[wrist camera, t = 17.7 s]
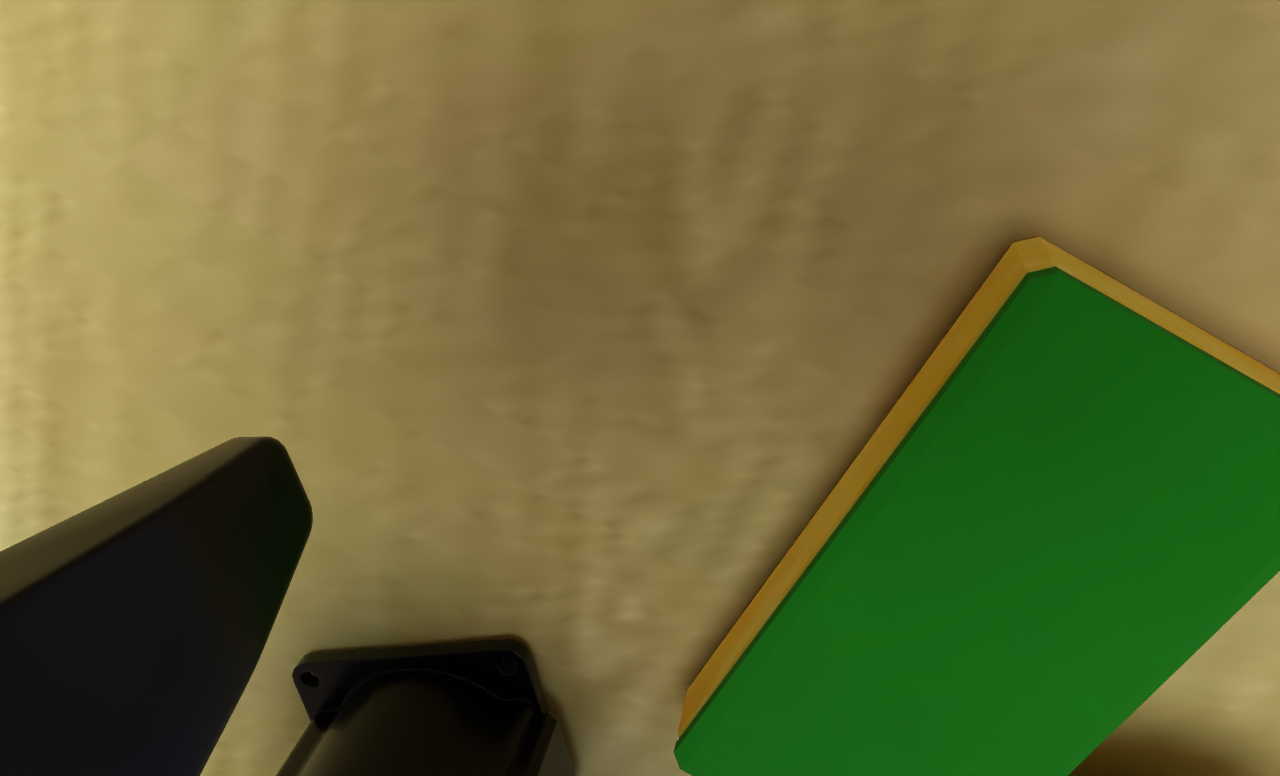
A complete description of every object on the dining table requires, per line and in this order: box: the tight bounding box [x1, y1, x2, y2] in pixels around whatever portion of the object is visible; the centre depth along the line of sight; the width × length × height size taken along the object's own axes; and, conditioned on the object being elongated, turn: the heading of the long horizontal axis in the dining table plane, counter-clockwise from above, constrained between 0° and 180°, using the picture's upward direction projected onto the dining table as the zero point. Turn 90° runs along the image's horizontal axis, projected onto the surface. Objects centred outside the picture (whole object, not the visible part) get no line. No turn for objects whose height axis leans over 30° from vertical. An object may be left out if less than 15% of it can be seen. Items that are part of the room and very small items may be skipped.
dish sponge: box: [674, 237, 1280, 776], centre depth 22 cm, size 7×14×2 cm, turn 153°
